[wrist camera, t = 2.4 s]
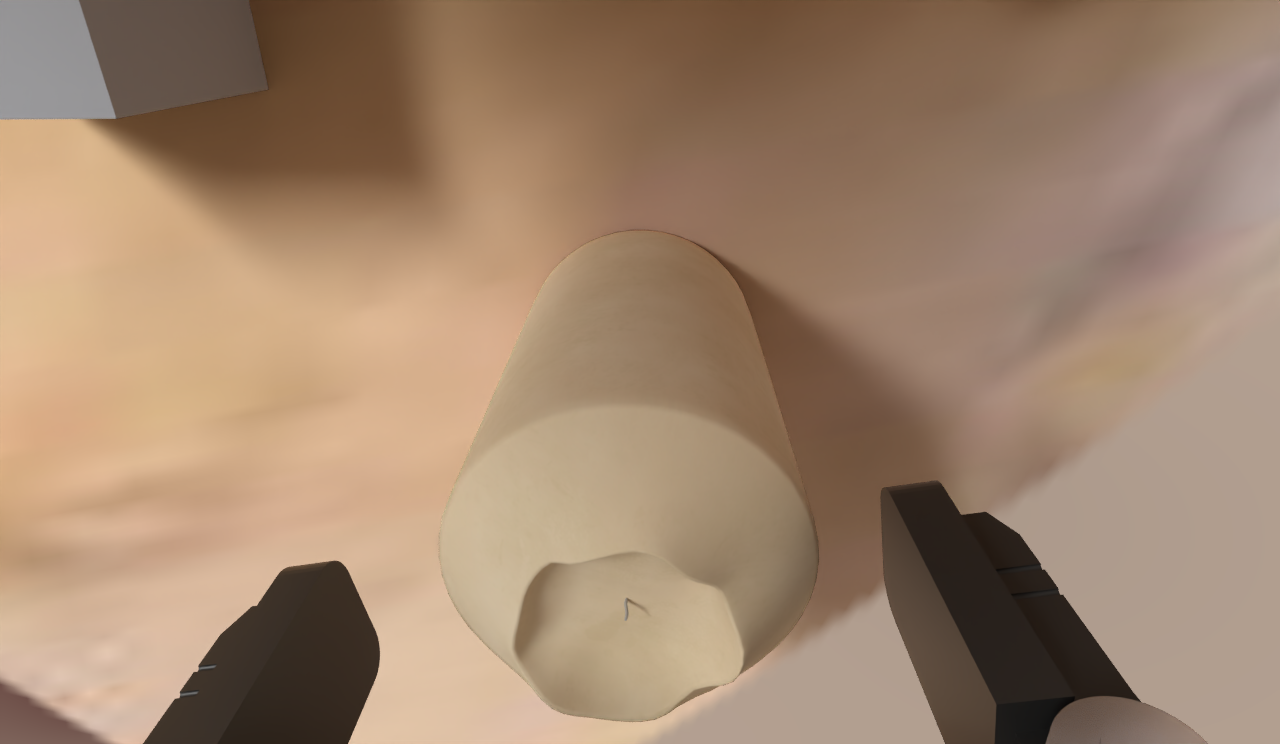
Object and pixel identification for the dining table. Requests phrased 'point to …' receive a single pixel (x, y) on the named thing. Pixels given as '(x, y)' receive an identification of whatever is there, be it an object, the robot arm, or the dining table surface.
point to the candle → (631, 489)
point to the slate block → (123, 56)
